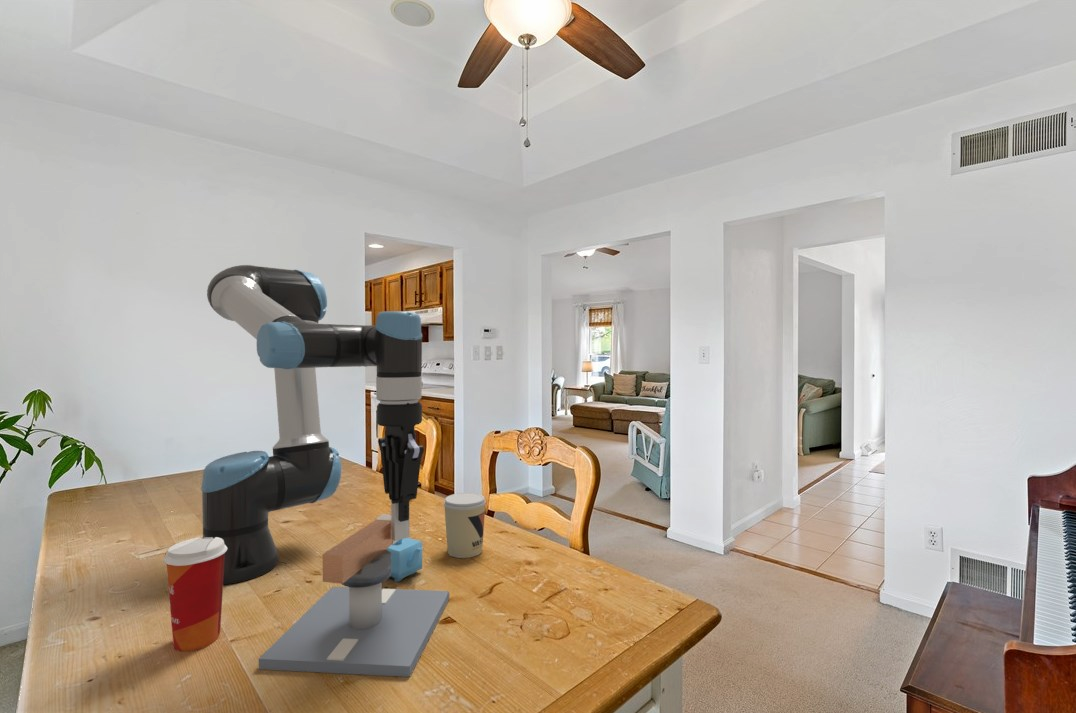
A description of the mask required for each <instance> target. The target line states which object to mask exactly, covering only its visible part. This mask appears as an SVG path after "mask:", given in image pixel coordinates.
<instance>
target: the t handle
mask: <svg viewBox="0 0 1076 713" xmlns="http://www.w3.org/2000/svg"><path fill="white" fill-rule="evenodd" d="M397 541H398V540H397ZM397 541H394V540H393V539H391V514H388V513H382V514H381V515H378V517H376V518H375V519H374V520H372V522H370V523H368V524H366V525H365V526H363V528H360V529H359V530H358V531H356V532H354V533H353V534H351V535H350V536H348V537H347V538H345V539H344V540H342V541H341V542H339V543H337V544H336V545H334V546H333V547H331V548H330V549H328V550H327V551H325V552H324V553H322V582H323V583H332V584H340V585H342V586H343V587H353V588H360V587H369V586H373V585H376V584H379V583H383V582H385V581H387V580H388V579H390V578H391V577H390V576H391V553H390V552H389V551H388V550H386V549H387V548H388V547H390V546H391V545H393V544H395V543H396V542H397Z"/></svg>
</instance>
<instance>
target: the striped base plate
mask: <svg viewBox="0 0 1076 713" xmlns="http://www.w3.org/2000/svg"><path fill="white" fill-rule="evenodd" d="M382 583H383V582H382ZM382 583H379V584H376V585H373V586H369V587H360V588H353V587H347V586H331V588H329V589H328V590H327V592H326V593H324V595H322V596H321V597H320V599H318V600H317V601H316V602H314V604H313V605H312V606H311V607H310V608H309V609H308V610H307V611H306V612H305V613H304V614H303V615H302V616H301V617H300V618H299V619H297V621H295V622H294V624H293V625H292V626H291V627H290V628H288V629H287V631H285V632H284V633H283V634H282V635H281V636H280V637H279V638H277V640H276V641H275V642H274V643H273V644H272V645H271V646H270V647H269V648H268V649H267V650H266V651H265V652H264V653H263V654H262V655H260V657H259V658H258V670H265V669H266V670H267V669H268V670H269V671H285V672H286V670H287V672H305V671H306V672H307V673H322V674H323V673H324V674H325V673H326V674H327V673H328V674H344V675H345V674H346V675H347V674H348V675H361V676H362V675H366V676H367V675H368V676H383V677H385V676H386V677H403V678H405V677H406V678H410V677H411V676H412V673H413V671H414V669H415V668H416V665H417V663H418V662H419V659H420V658H421V656H422V654H423V652H424V650H425V648H426V646H427V645H428V642H429V640H430V638H431V636H432V634H433V633H434V630H435V628H436V627H437V625H438V623H439V620H440V618H441V617H442V615H443V613H444V611H445V609H446V607H447V605H448V602H449V601H450V591H449V590H434V589H433V590H431V589H429V590H428V589H408V588H407V589H404V588H402V589H401V588H382V586H383V584H382ZM289 670H290V671H289ZM306 672H305V673H306Z"/></svg>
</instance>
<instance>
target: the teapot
mask: <svg viewBox="0 0 1076 713" xmlns="http://www.w3.org/2000/svg"><path fill="white" fill-rule="evenodd" d="M386 550H388V551H389V552H390V553H391V576H390V577H389V578H393V579H394V582H401V581H403V579H404V578H406V577H408V576H410V575H415V574H416V572H418V571H420V570H422V569H423V550H424V547H423V541H421V540H417V539H414V538H411V537H409V538H405V539H401V540H398V541H397V542H396V543H395V544H393V545H391V546H390V547H388V548H387V549H386Z"/></svg>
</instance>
